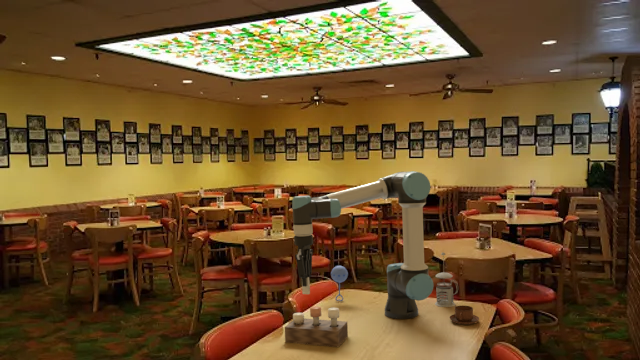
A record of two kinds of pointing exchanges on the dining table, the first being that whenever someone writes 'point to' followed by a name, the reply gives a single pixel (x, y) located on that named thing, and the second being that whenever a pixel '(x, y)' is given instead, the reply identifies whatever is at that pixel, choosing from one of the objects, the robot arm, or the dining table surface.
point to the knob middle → (315, 314)
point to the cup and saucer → (464, 315)
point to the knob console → (316, 333)
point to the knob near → (333, 316)
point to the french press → (445, 290)
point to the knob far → (298, 318)
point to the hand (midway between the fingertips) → (306, 293)
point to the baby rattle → (339, 277)
